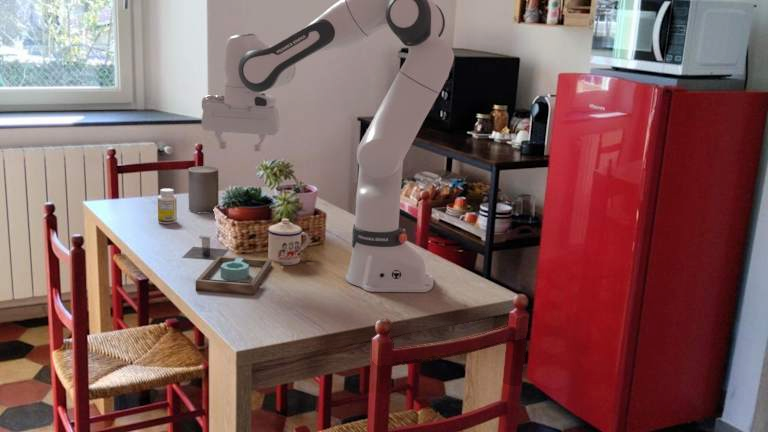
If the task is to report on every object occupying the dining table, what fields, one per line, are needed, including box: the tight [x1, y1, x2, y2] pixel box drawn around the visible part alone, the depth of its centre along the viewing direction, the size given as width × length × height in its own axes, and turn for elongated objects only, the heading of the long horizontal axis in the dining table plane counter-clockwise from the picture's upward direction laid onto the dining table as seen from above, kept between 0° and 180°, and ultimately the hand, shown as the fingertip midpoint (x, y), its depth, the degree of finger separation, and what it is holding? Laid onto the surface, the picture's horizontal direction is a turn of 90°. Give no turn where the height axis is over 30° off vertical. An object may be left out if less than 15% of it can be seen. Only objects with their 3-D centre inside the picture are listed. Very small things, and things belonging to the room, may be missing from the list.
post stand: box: [181, 235, 229, 261], centre depth 218 cm, size 10×10×6 cm
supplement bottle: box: [157, 188, 178, 225], centre depth 248 cm, size 6×6×10 cm
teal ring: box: [220, 257, 250, 282], centre depth 203 cm, size 10×6×3 cm
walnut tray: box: [195, 255, 272, 296], centre depth 202 cm, size 14×20×2 cm
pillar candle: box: [187, 165, 219, 213], centre depth 265 cm, size 10×10×15 cm
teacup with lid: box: [267, 218, 310, 266], centre depth 219 cm, size 12×9×12 cm
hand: (240, 149), depth 214 cm, fingers open, 8 cm apart
